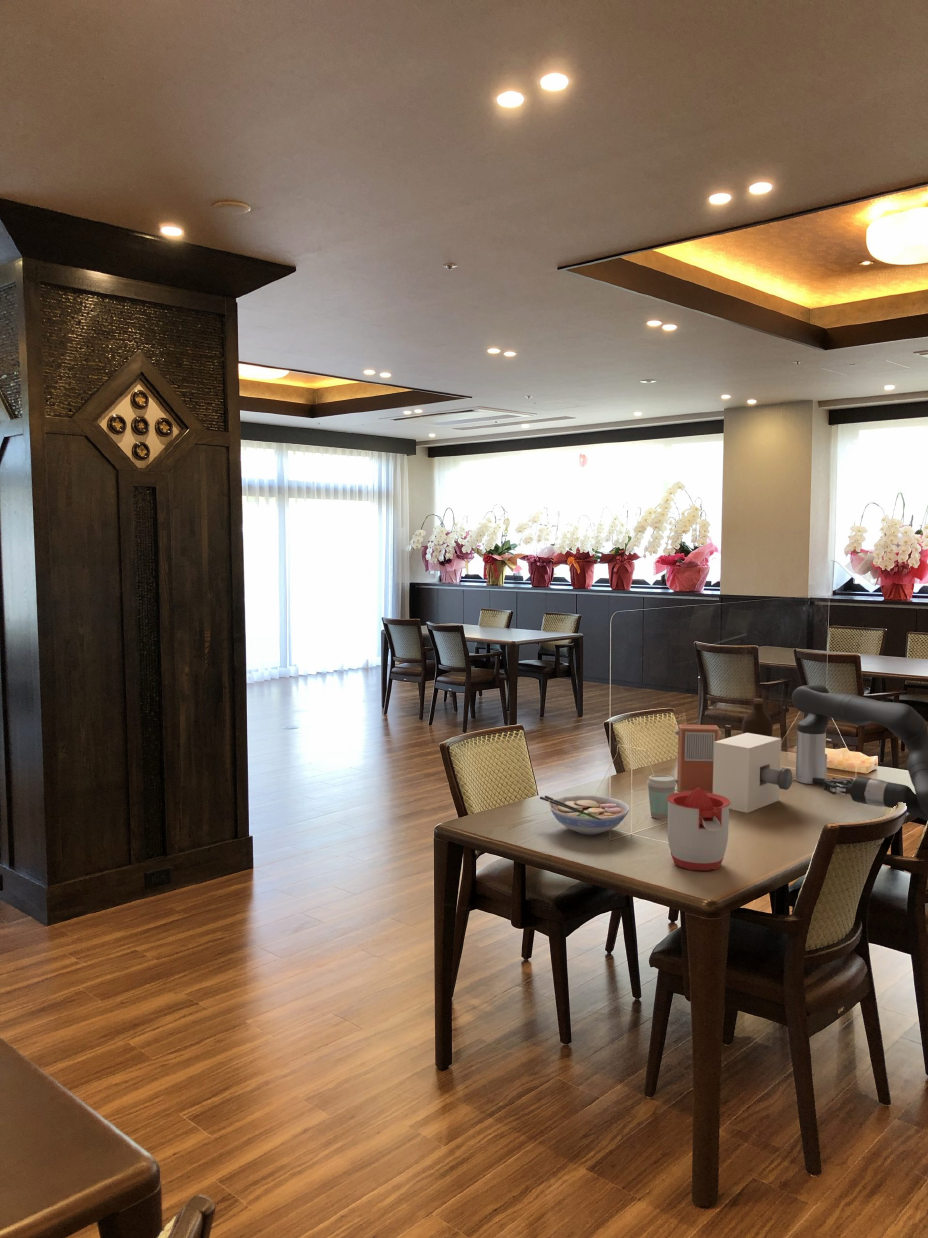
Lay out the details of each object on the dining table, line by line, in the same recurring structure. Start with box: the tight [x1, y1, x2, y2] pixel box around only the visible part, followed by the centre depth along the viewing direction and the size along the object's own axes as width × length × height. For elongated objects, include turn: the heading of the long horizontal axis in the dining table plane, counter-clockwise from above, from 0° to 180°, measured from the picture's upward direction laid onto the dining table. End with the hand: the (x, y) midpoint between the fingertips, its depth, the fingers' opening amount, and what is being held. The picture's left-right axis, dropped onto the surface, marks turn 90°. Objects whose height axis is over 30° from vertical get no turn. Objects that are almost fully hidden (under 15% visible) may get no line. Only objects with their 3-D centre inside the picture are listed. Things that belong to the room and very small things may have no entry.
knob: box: [760, 767, 793, 791], centre depth 289 cm, size 6×9×6 cm
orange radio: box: [674, 723, 722, 793], centre depth 310 cm, size 21×7×15 cm
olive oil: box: [741, 698, 774, 737], centre depth 342 cm, size 11×11×25 cm
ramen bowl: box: [539, 794, 631, 836], centre depth 267 cm, size 25×23×8 cm
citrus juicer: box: [667, 788, 730, 871], centre depth 239 cm, size 16×17×20 cm
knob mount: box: [713, 733, 782, 814], centre depth 296 cm, size 20×12×20 cm, turn 134°
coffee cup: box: [646, 774, 677, 820], centre depth 280 cm, size 9×9×12 cm
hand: (813, 781), depth 280 cm, fingers closed
